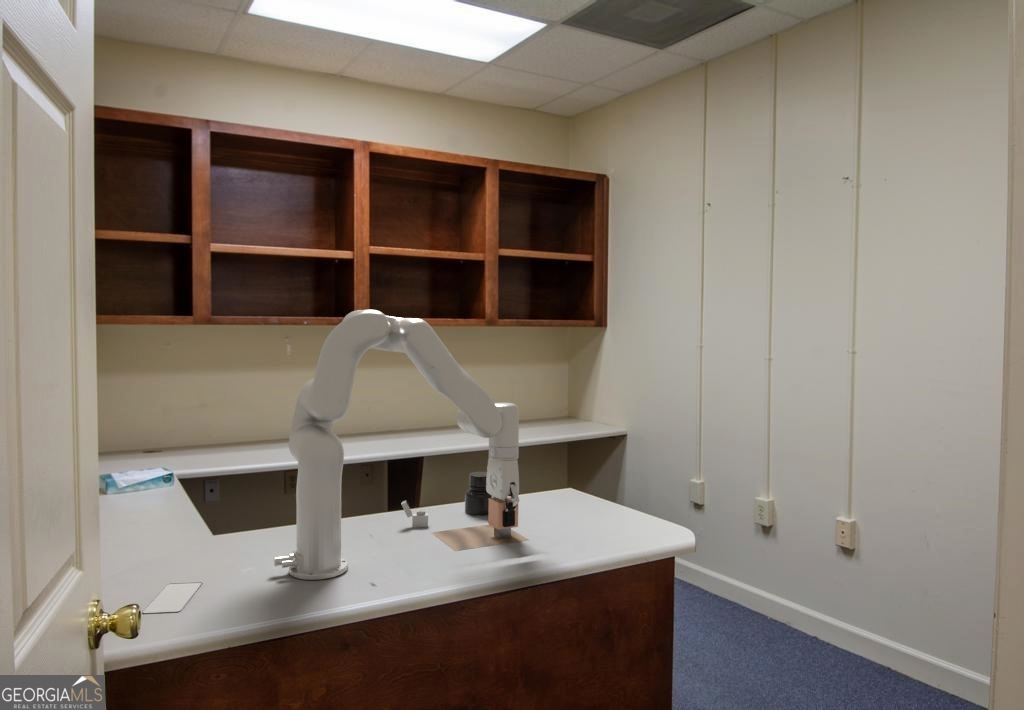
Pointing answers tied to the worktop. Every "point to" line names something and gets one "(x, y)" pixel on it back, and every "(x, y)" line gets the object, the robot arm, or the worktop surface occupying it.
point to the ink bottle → (477, 495)
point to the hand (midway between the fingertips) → (503, 522)
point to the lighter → (416, 516)
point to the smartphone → (172, 598)
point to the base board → (474, 537)
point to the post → (502, 533)
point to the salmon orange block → (499, 513)
